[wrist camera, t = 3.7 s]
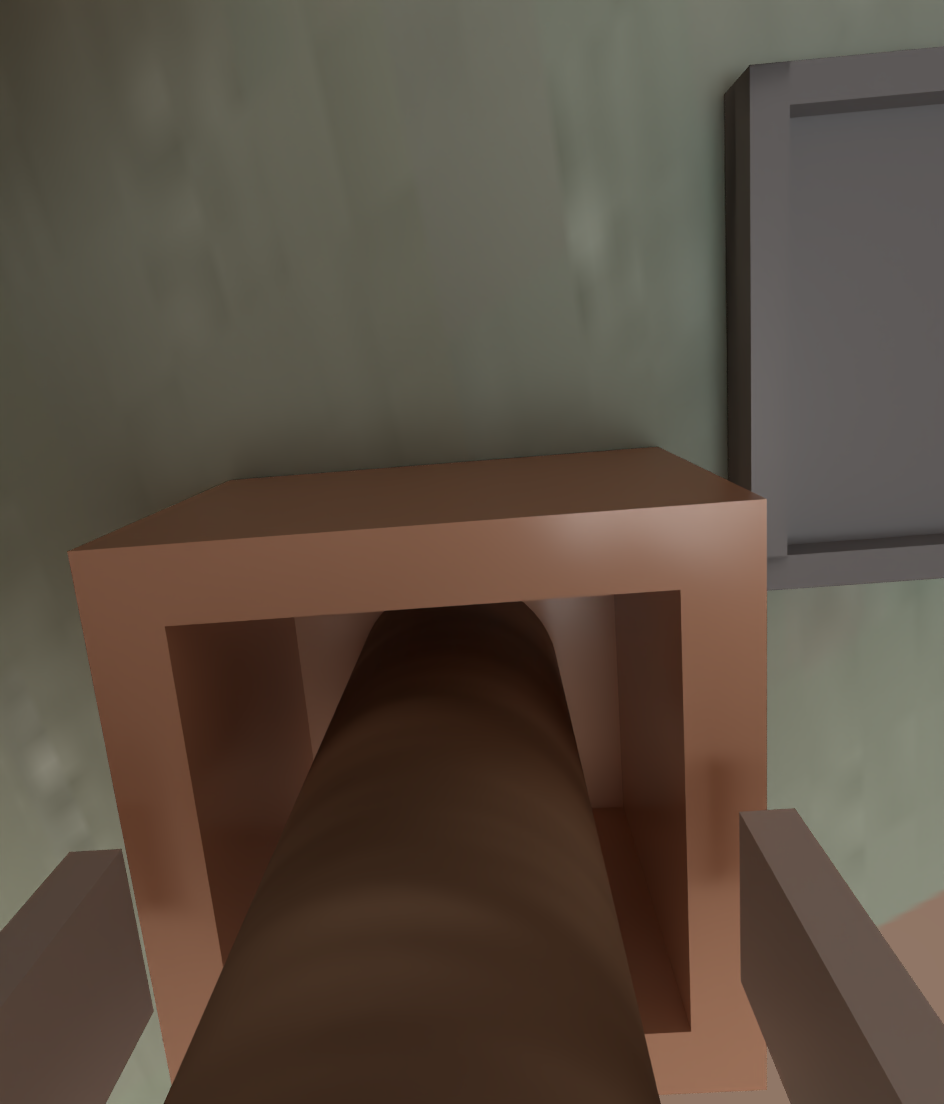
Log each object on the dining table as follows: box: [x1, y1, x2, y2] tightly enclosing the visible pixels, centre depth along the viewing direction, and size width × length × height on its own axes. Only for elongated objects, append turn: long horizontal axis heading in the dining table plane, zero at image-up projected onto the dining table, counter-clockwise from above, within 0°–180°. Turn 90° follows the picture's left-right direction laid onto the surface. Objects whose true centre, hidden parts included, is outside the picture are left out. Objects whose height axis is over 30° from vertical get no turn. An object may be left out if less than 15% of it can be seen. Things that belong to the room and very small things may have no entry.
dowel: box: [164, 601, 661, 1104], centre depth 13 cm, size 5×5×15 cm
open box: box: [67, 447, 767, 1095], centre depth 17 cm, size 11×11×8 cm
